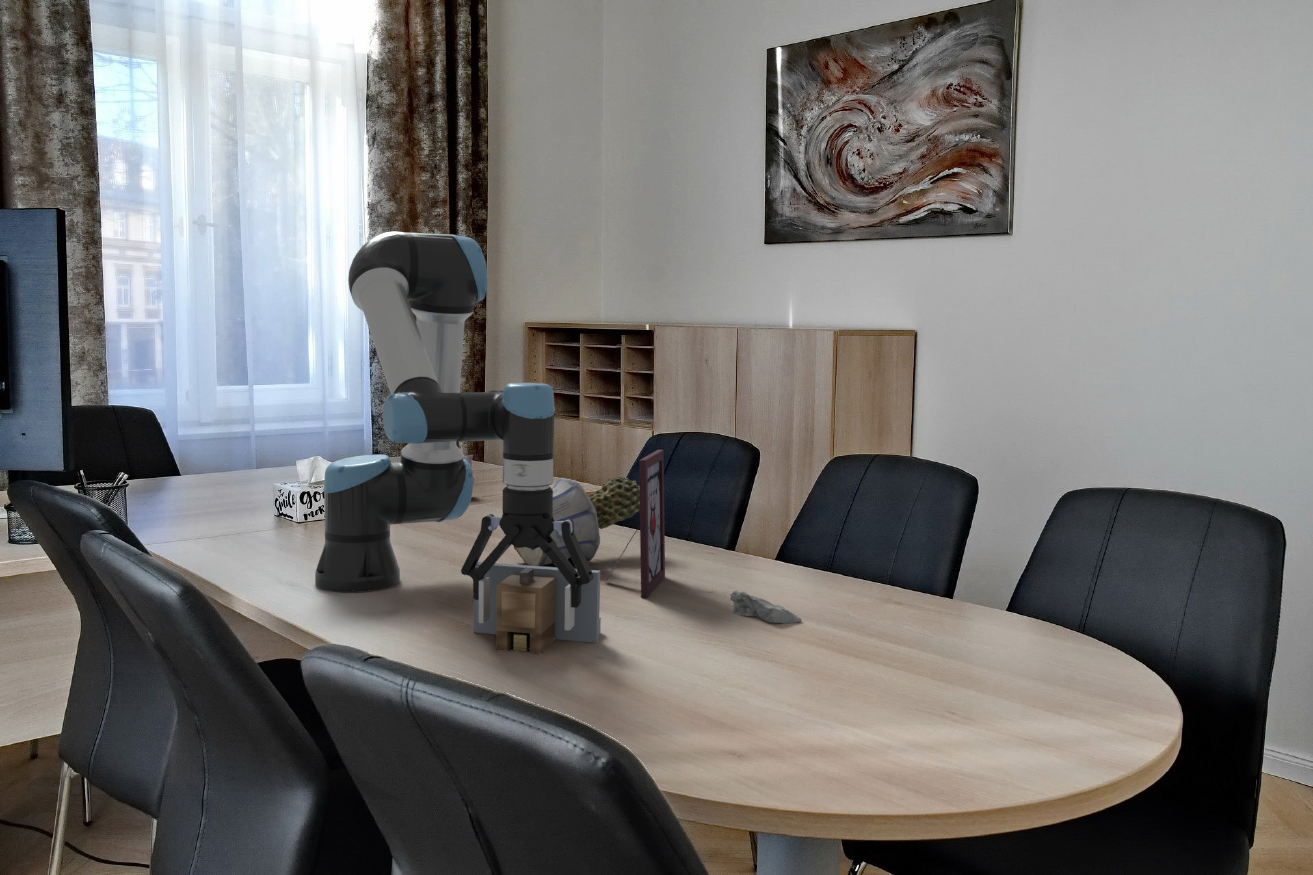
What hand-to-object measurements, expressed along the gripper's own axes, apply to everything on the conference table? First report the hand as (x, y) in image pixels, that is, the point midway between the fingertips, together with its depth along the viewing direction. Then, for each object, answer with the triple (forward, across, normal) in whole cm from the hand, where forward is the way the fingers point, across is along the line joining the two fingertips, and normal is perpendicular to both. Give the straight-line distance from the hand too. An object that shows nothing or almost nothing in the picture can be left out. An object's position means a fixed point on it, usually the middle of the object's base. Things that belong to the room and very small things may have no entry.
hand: (526, 624), depth 163 cm
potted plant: (+3, -8, +60) cm, 60 cm away
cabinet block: (+3, 0, 0) cm, 3 cm away
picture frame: (+3, +7, +41) cm, 42 cm away
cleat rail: (+3, 0, 0) cm, 3 cm away
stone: (+4, +34, +26) cm, 43 cm away
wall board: (+3, 0, +7) cm, 8 cm away
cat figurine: (+3, -61, +123) cm, 137 cm away
